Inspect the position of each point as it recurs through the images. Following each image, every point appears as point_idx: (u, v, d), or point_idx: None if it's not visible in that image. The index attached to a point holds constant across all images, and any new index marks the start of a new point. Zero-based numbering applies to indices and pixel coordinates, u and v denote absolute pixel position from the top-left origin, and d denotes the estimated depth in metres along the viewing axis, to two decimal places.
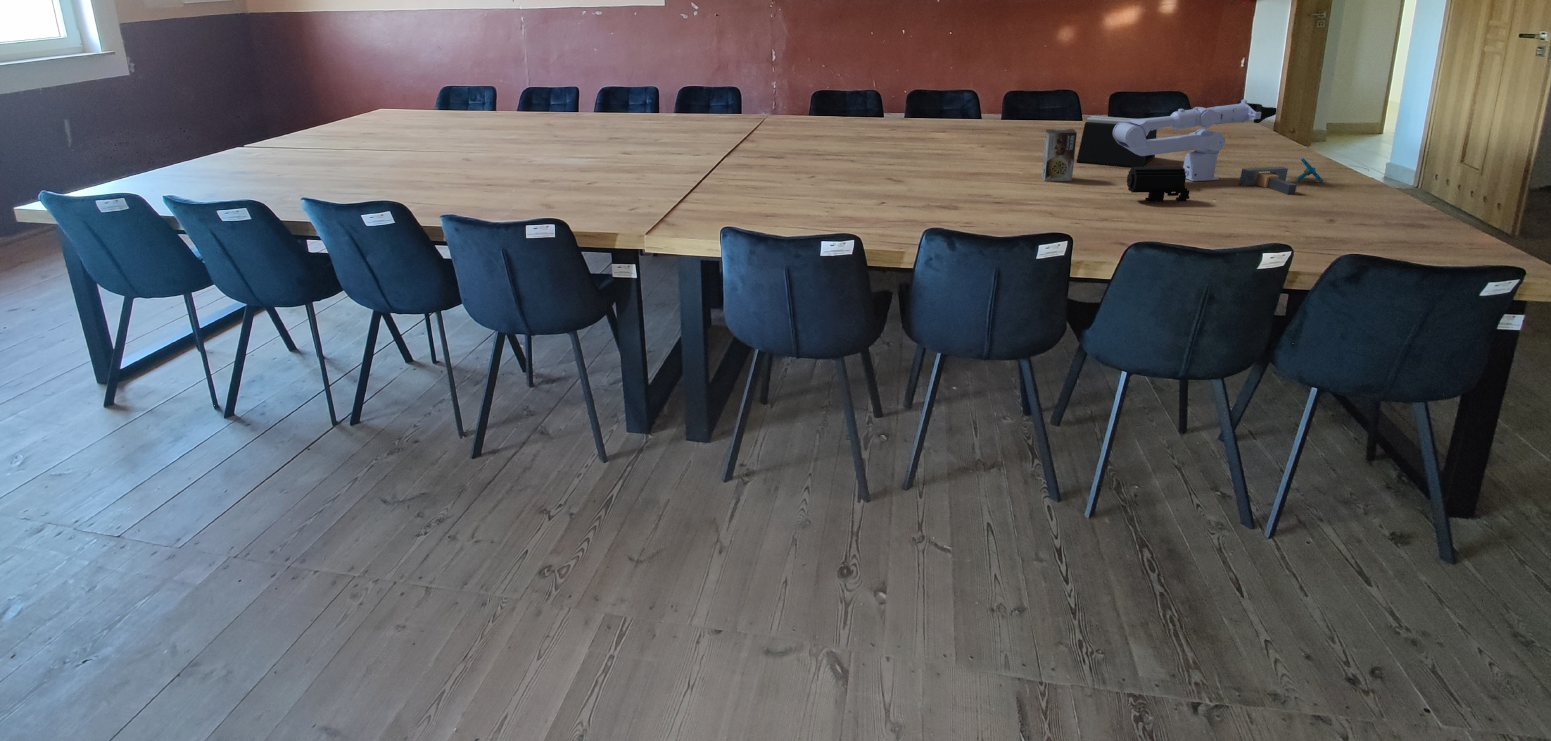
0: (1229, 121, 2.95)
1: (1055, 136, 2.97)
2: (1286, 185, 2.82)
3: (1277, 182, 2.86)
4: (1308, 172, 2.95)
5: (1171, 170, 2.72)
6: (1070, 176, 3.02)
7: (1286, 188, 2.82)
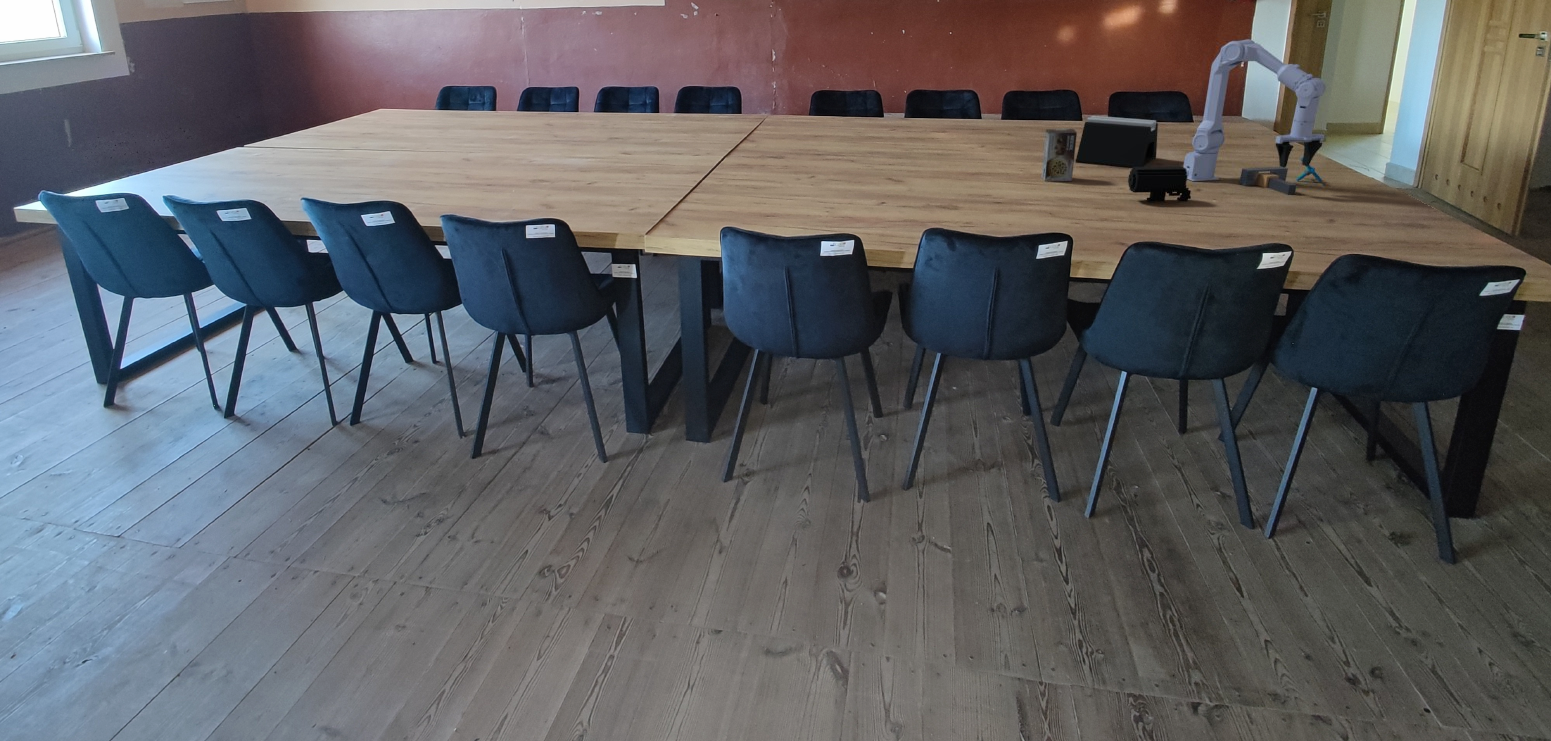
0: (1294, 118, 2.74)
1: (1055, 136, 2.97)
2: (1286, 185, 2.82)
3: (1277, 182, 2.86)
4: (1307, 172, 2.95)
5: (1172, 170, 2.71)
6: (1070, 176, 3.02)
7: (1286, 188, 2.82)
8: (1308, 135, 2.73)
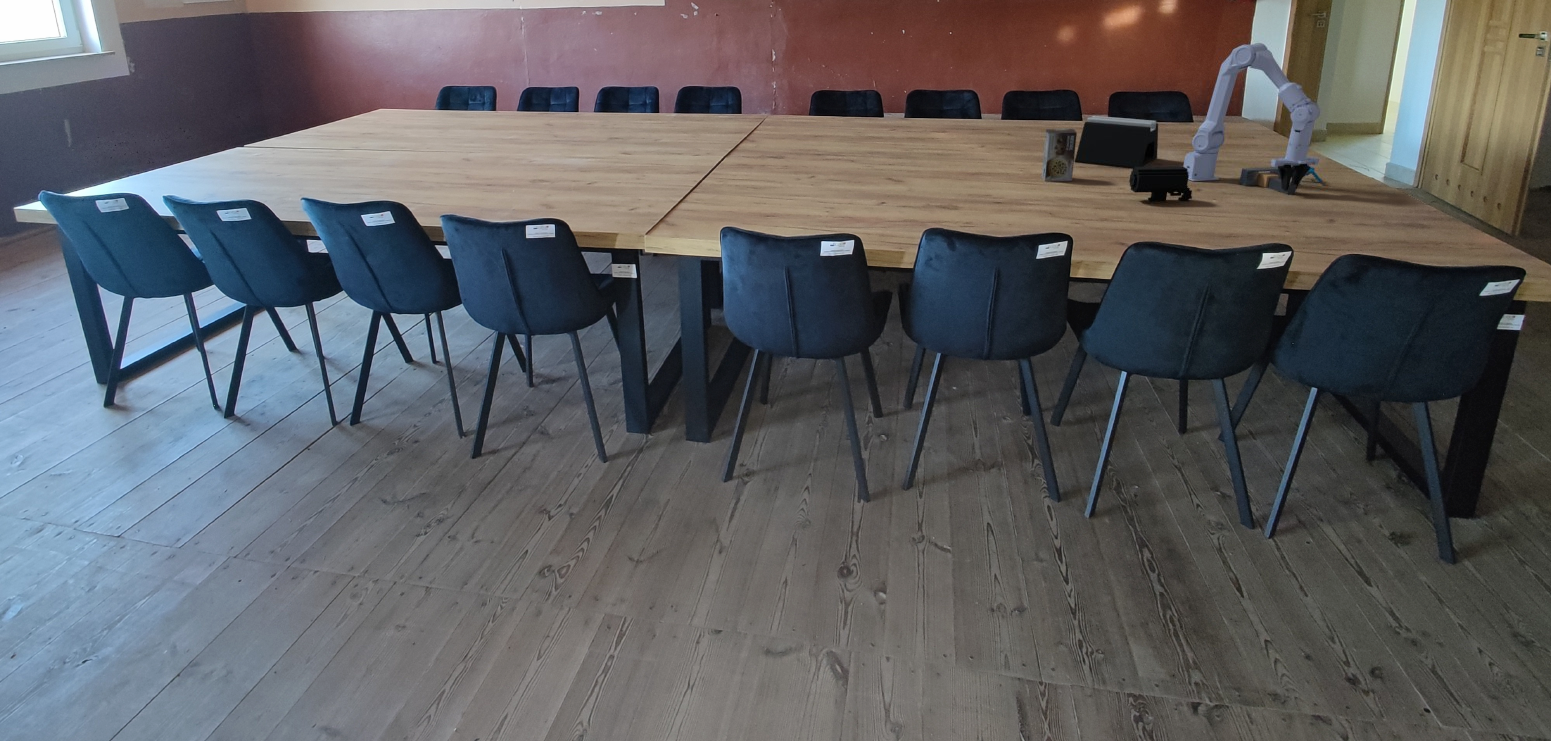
0: (1289, 142, 2.77)
1: (1055, 136, 2.97)
2: None
3: (1277, 182, 2.86)
4: (1307, 172, 2.96)
5: (1174, 170, 2.72)
6: (1070, 176, 3.02)
7: None
8: (1303, 159, 2.76)
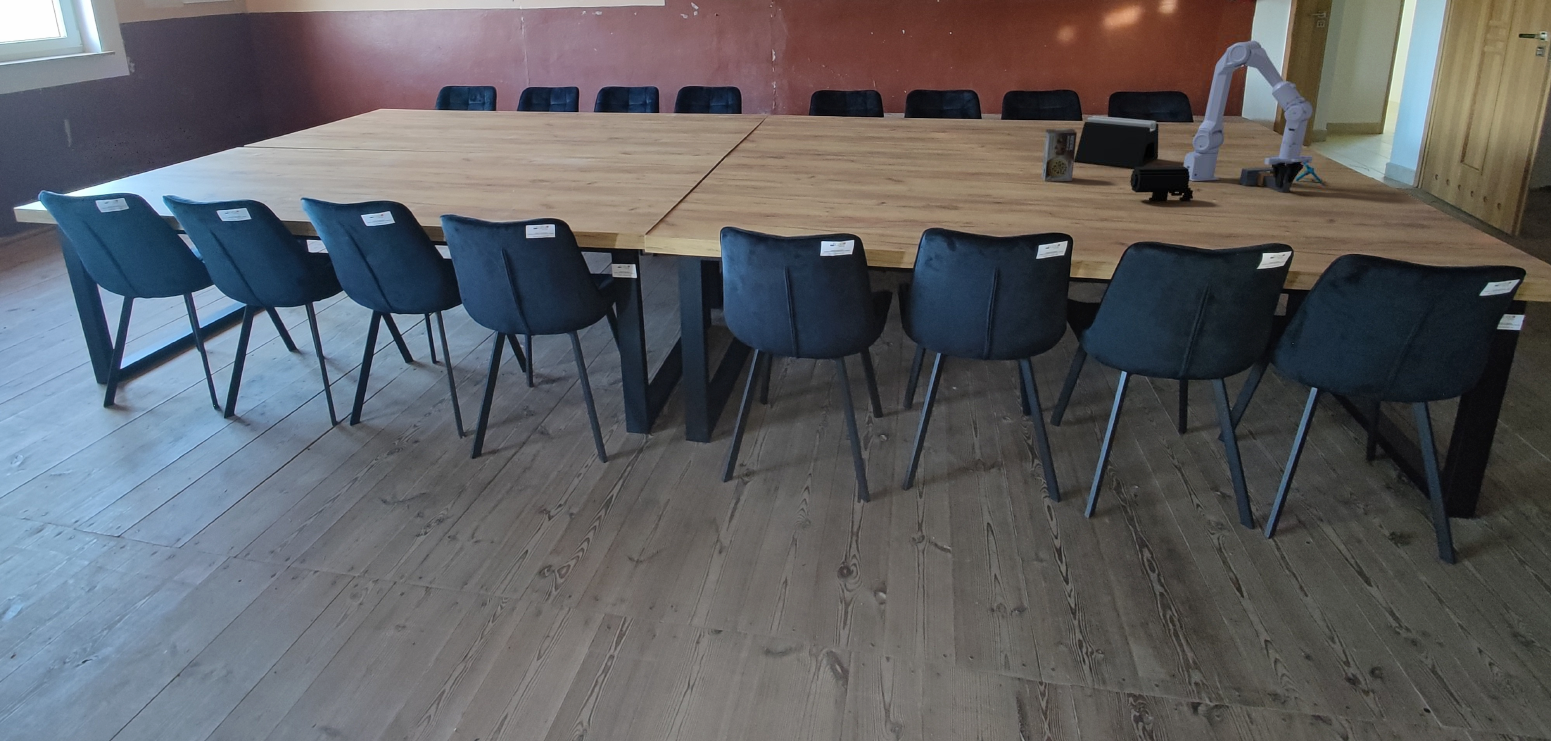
0: (1283, 140, 2.80)
1: (1055, 136, 2.97)
2: None
3: (1272, 180, 2.88)
4: (1306, 172, 2.96)
5: (1175, 170, 2.71)
6: (1070, 176, 3.02)
7: None
8: (1296, 157, 2.79)
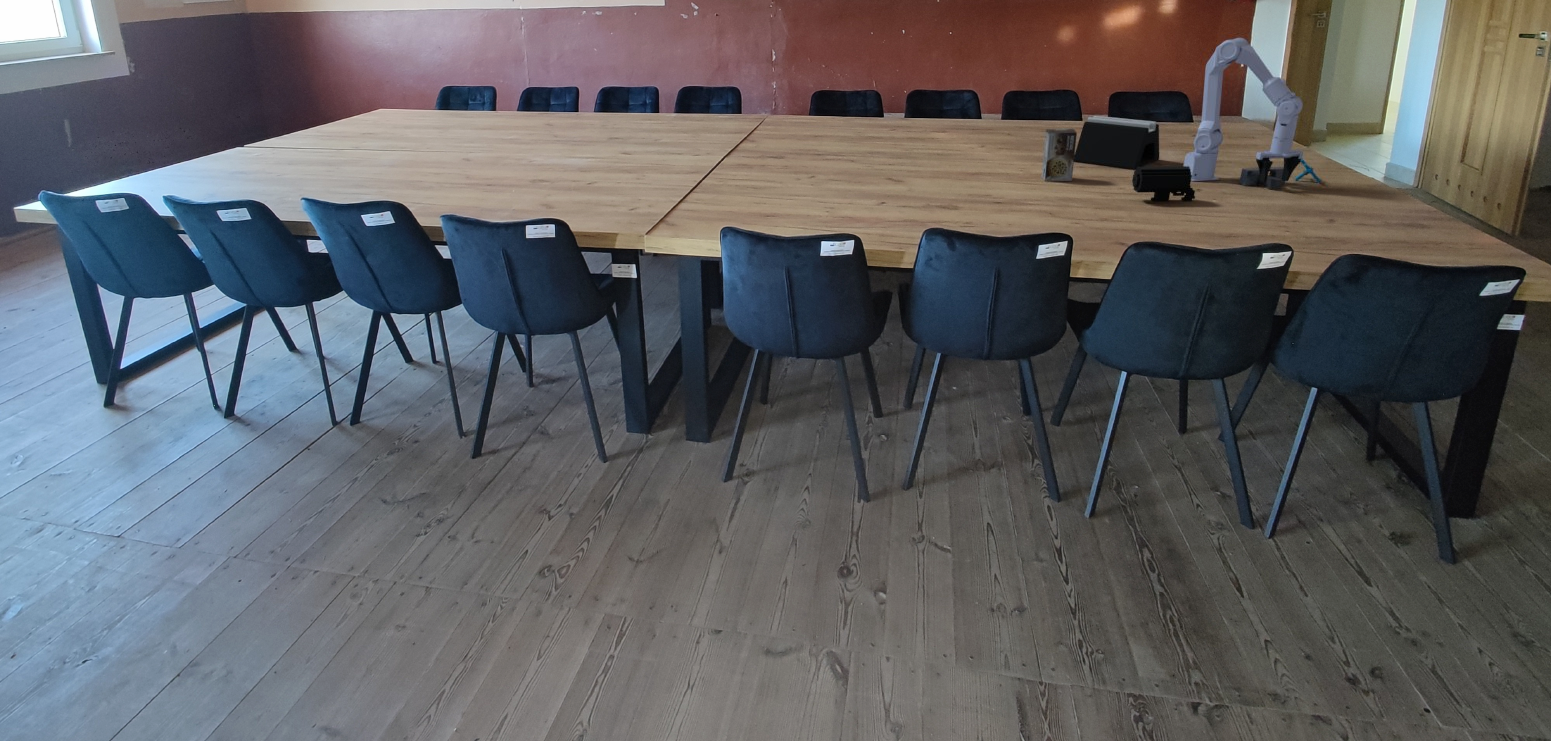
0: (1275, 135, 2.83)
1: (1055, 136, 2.97)
2: (1272, 180, 2.88)
3: None
4: (1306, 172, 2.96)
5: (1177, 170, 2.71)
6: (1070, 176, 3.02)
7: (1272, 183, 2.88)
8: (1287, 151, 2.83)
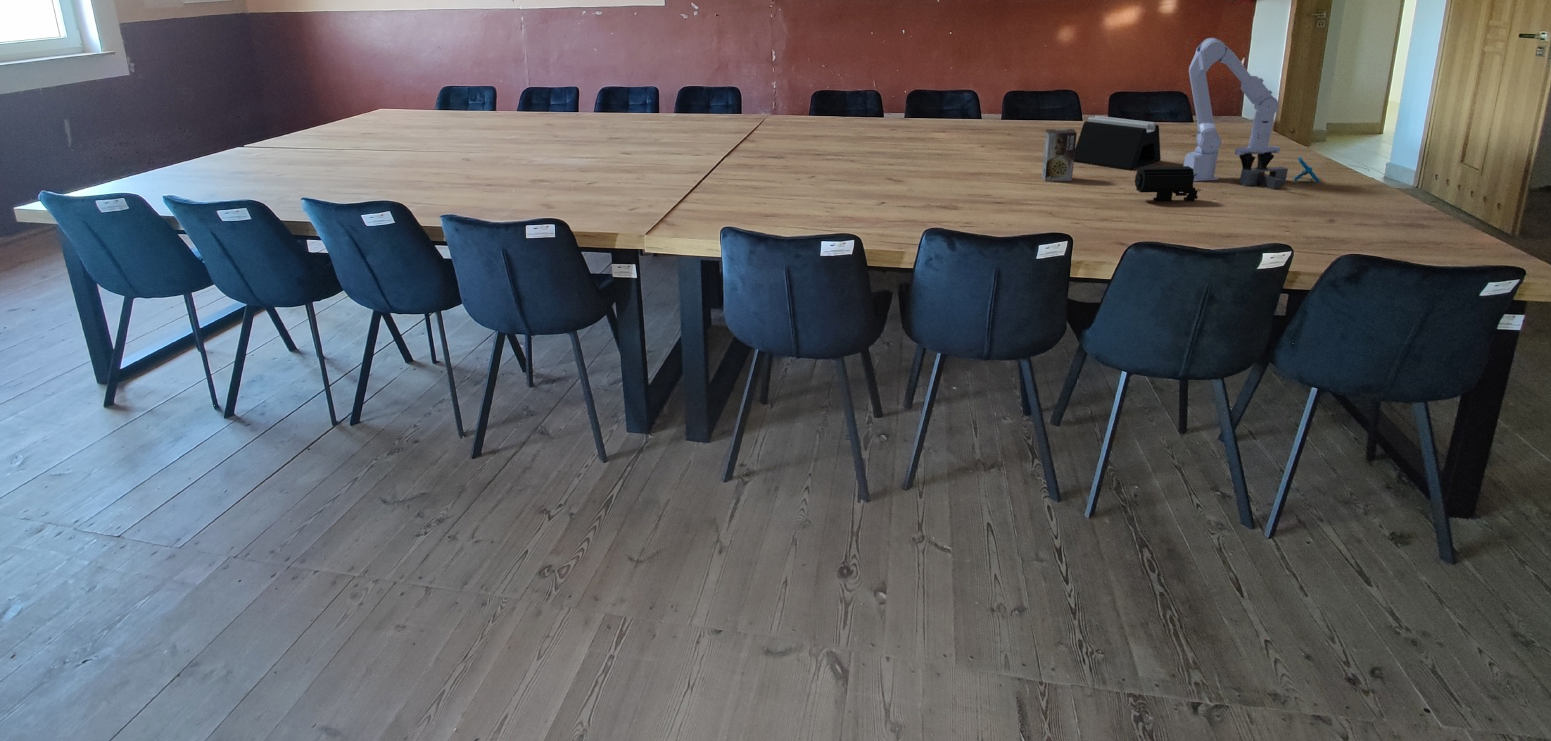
0: (1256, 132, 2.92)
1: (1055, 136, 2.97)
2: (1272, 180, 2.88)
3: (1263, 177, 2.92)
4: (1305, 172, 2.96)
5: (1179, 170, 2.71)
6: (1070, 176, 3.02)
7: (1272, 183, 2.88)
8: (1264, 147, 2.93)
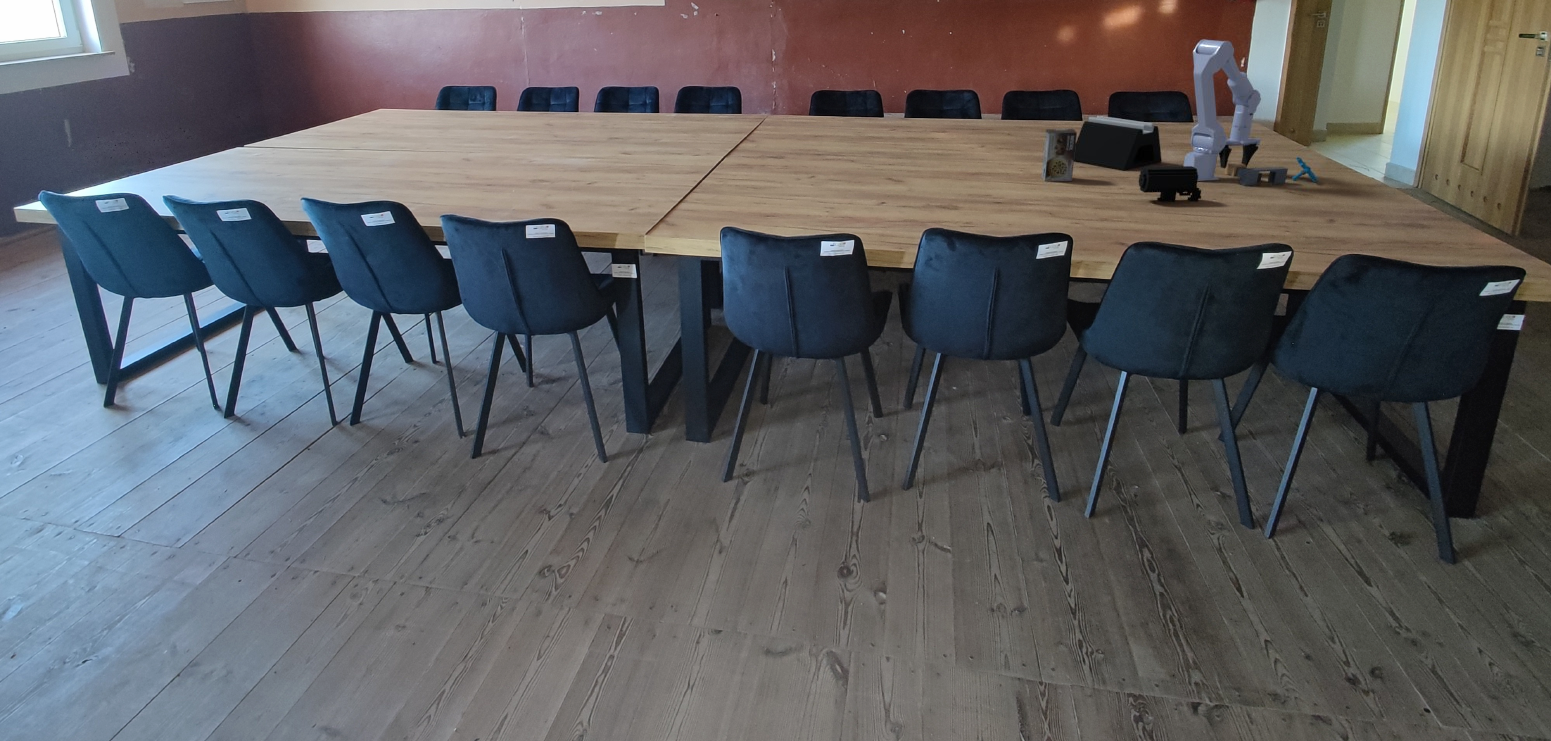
0: (1243, 125, 3.00)
1: (1055, 136, 2.97)
2: None
3: None
4: (1303, 171, 2.96)
5: (1183, 170, 2.71)
6: (1070, 176, 3.02)
7: None
8: (1245, 139, 3.02)
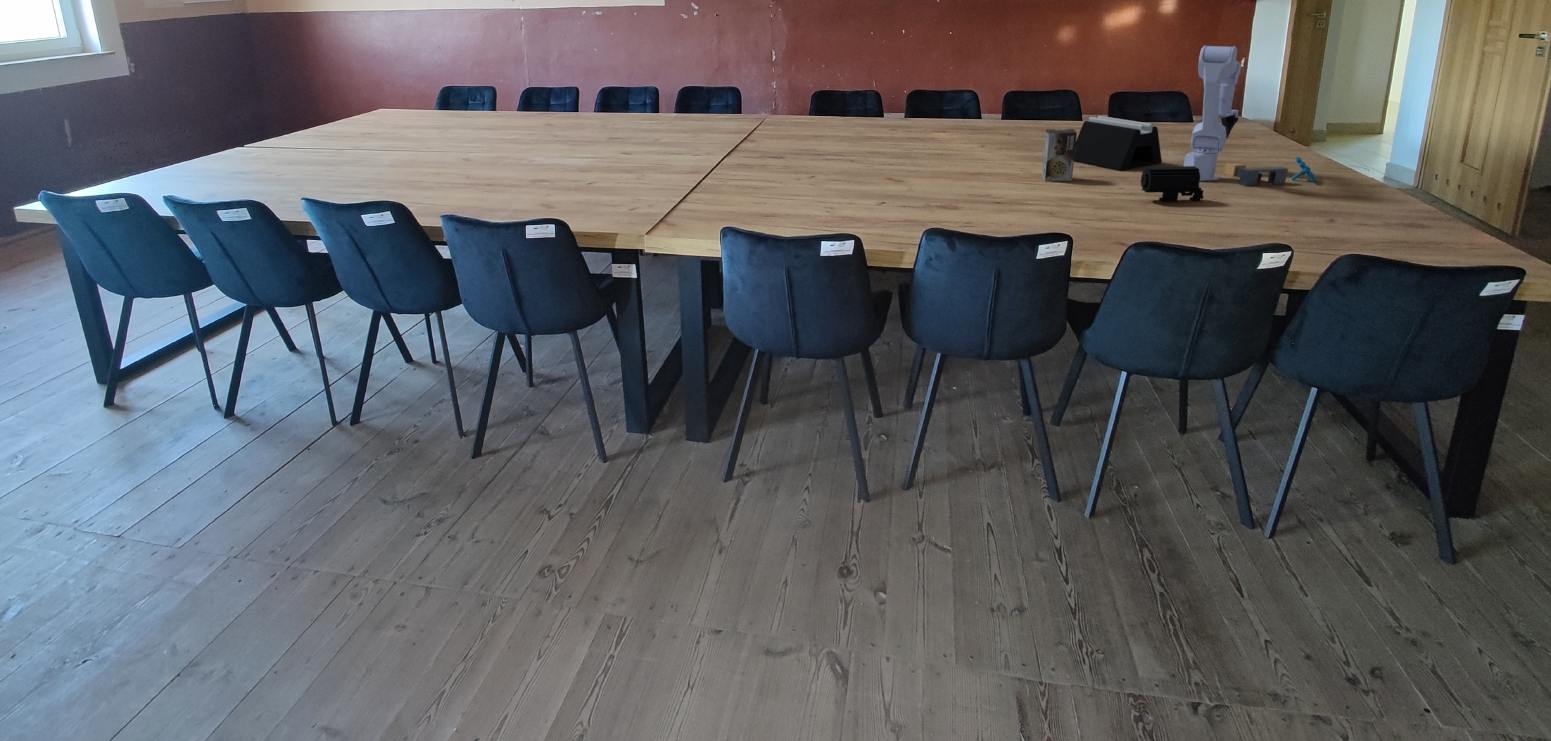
0: (1229, 97, 3.02)
1: (1055, 136, 2.97)
2: None
3: None
4: (1302, 171, 2.96)
5: (1185, 170, 2.71)
6: (1070, 176, 3.02)
7: None
8: (1229, 111, 3.04)
